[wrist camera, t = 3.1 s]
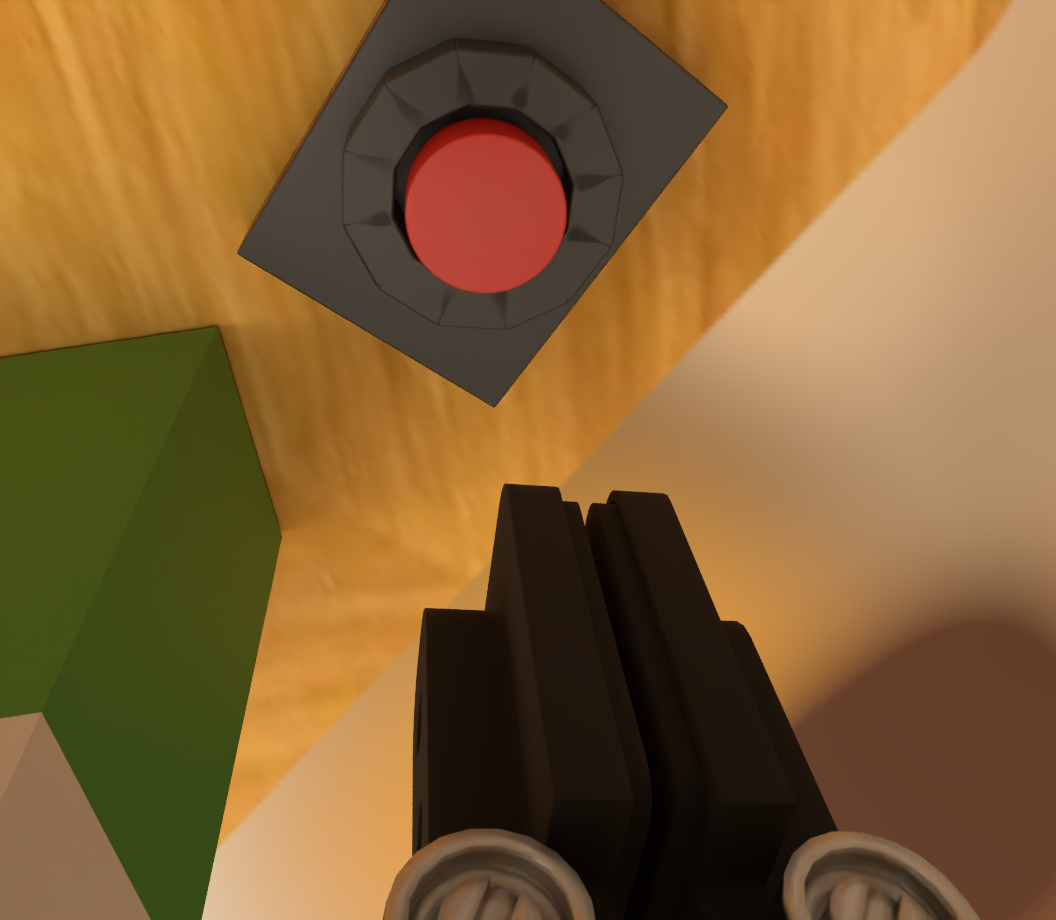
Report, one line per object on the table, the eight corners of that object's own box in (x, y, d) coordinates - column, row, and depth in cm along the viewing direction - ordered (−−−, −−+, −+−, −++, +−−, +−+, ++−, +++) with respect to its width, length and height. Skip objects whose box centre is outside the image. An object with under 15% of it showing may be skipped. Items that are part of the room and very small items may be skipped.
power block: (455, -118, 23) (461, -119, 19) (705, 89, 26) (749, 120, 22) (249, 226, 26) (224, 277, 23) (489, 373, 29) (498, 438, 26)
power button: (462, 84, 22) (465, 98, 20) (587, 176, 23) (599, 197, 21) (376, 215, 23) (373, 238, 21) (500, 295, 24) (505, 322, 23)
